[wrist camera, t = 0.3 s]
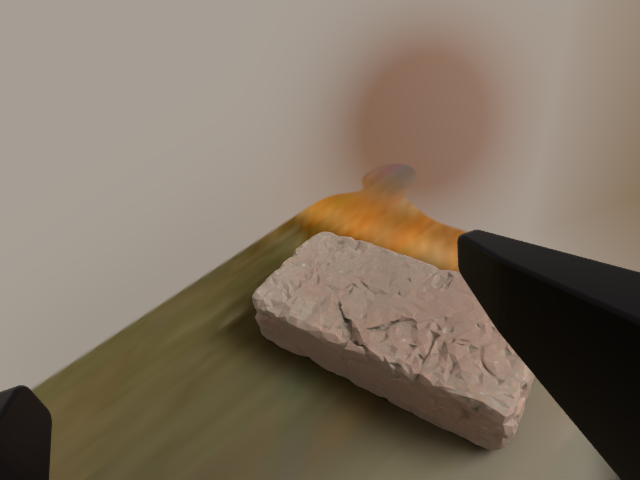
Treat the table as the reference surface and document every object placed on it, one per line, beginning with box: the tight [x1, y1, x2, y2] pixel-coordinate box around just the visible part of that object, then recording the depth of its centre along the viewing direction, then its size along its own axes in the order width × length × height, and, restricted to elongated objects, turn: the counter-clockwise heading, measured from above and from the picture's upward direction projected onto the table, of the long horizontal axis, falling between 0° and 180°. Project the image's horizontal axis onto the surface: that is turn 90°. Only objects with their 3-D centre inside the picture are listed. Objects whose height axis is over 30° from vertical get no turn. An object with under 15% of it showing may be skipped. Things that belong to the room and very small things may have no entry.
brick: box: [252, 232, 535, 450], centre depth 27 cm, size 17×8×5 cm, turn 55°
